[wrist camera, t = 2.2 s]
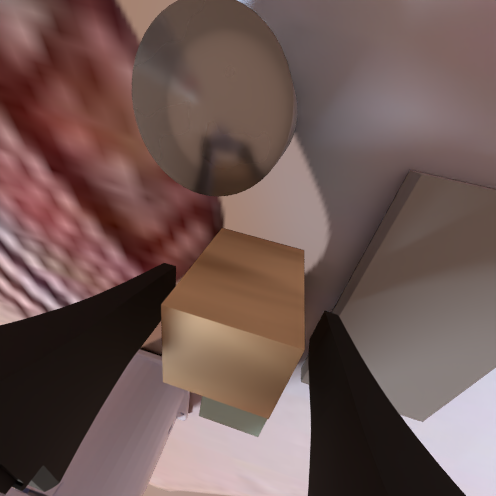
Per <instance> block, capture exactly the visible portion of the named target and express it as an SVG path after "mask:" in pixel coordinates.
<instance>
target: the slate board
mask: <svg viewBox="0 0 496 496" xmlns="http://www.w3.org/2000/svg"><path fill="white" fill-rule="evenodd" d="M332 313H334V314H337V315H339V317H340V319H341V321H342V322H343V324H344V326H345V328H346V330H347V332H348V334H349V335H350V337H351V339H352V341H353V343H354V344H355V346H356V348H357V350H358V352H359V353H360V355H361V357H362V358H363V360H364V362H365V363H366V365H367V367H368V368H369V370H370V372H371V373H372V375H373V376H374V378H375V379H376V381H377V383H378V384H379V386H380V387H381V389H382V390H383V392H384V393H385V395H386V396H387V398H388V399H389V400H390V402H391V403H392V405H393V406H394V407H395V409H396V410H397V412H398V413H399V414H400V415H403V416H406V417H409V418H412V419H415V420H418V421H421V422H423V421H424V420H426V419H427V418H428V417H430V416H431V415H432V414H434V413H435V412H436V411H438V410H439V409H441V408H442V407H443V406H445V405H446V404H447V403H449V402H450V401H451V400H453V399H454V398H455V397H457V396H458V395H459V394H461V393H462V392H463V391H465V390H466V389H467V388H469V387H470V386H471V385H473V384H474V383H475V382H477V381H478V380H480V379H481V378H482V377H484V376H485V375H486V374H488V373H489V372H490V371H492V370H493V369H494V368H496V189H492V188H488V187H483V186H479V185H475V184H470V183H466V182H461V181H457V180H453V179H448V178H444V177H440V176H435V175H431V174H426V173H422V172H418V171H413V170H410V171H409V173H408V175H407V176H406V178H405V180H404V182H403V184H402V186H401V187H400V189H399V191H398V193H397V195H396V196H395V198H394V200H393V202H392V204H391V206H390V207H389V209H388V211H387V213H386V215H385V217H384V218H383V220H382V222H381V224H380V226H379V227H378V229H377V231H376V233H375V235H374V237H373V238H372V240H371V242H370V244H369V246H368V248H367V249H366V251H365V253H364V255H363V257H362V258H361V260H360V262H359V264H358V266H357V268H356V269H355V271H354V273H353V275H352V277H351V279H350V280H349V282H348V284H347V286H346V288H345V289H344V291H343V293H342V295H341V297H340V299H339V300H338V302H337V304H336V306H335V308H334V310H333V311H332ZM308 356H309V355H308ZM301 382H303V383H306V384H309V369H308V357H307V359H306V361H305V362H304V364H303V366H302V368H301Z"/></svg>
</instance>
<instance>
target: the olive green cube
mask: <svg viewBox="0 0 496 496" xmlns="http://www.w3.org/2000/svg"><path fill="white" fill-rule="evenodd" d="M199 416H200V417H203V418H206V419H209V420H212V421H214V422H217V423H220V424H223V425H226V426H228V427H231V428H234V429H237V430H240V431H242V432H245V433H248V434H251V435H254V436H256V437H258V436H259V434H260V432H261V430H262V428H263V426H264V424H265V422H266V421H267V418H264V417H261V416H258V415H255V414H252V413H250V412H247V411H244V410H241V409H238V408H235V407H232V406H230V405H227V404H224V403H221V402H218V401H215V400H212V399H210V398H207V397H204V396H202V400H201V406H200V413H199Z"/></svg>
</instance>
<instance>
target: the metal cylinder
mask: <svg viewBox="0 0 496 496" xmlns="http://www.w3.org/2000/svg"><path fill="white" fill-rule="evenodd" d="M132 100H133V109H134V113H135V118H136V122H137V125H138V128H139V131H140V134H141V136H142V139H143V141H144V143H145V145H146V147H147V149H148V151H149V152H150V154H151V155H152V157H153V158H154V160H155V161H156V163H157V164H158V165H159V166H160V167H161V169H162V170H163V171H164V172H165V173H166V174H167V175H168V176H169V177H171V178H172V179H173V180H174V181H176V182H177V183H179V184H180V185H182V186H183V187H185V188H187V189H189V190H191V191H194V192H197V193H200V194H204V195H209V196H228V195H232V194H237V193H239V192H242V191H245V190H247V189H249V188H251V187H252V186H254V185H255V184H257V183H258V182H259V181H261V180H262V179H263V178H264V177H265V176H266V175H267V174H268V173H269V172H270V171H271V169H272V168H273V167H274V166H275V164H276V163H277V162H278V160H279V159H280V157H281V156H282V155H283V153H284V152H285V151H286V149H287V147H288V146H289V144H290V142H291V140H292V138H293V135H294V132H295V128H296V123H297V114H298V108H297V98H296V93H295V89H294V86H293V82H292V78H291V74H290V71H289V67H288V63H287V60H286V58H285V55H284V53H283V50H282V48H281V46H280V44H279V42H278V40H277V39H276V37H275V35H274V34H273V32H272V31H271V30H270V28H269V27H268V26H267V24H266V23H265V22H264V21H263V20H262V19H261V18H260V17H259V16H258V15H257V14H256V13H255V12H254V11H253V10H251V9H250V8H248V7H247V6H246V5H244V4H243V3H241V2H239V1H237V0H178V1H176V2H174V3H173V4H171V5H169V6H168V7H167V8H166V9H165V10H163V11H162V12H161V13H160V14H159V15H158V16H157V17H156V18H155V20H154V21H153V22H152V23H151V25H150V26H149V28H148V29H147V31H146V32H145V34H144V36H143V38H142V41H141V43H140V45H139V48H138V51H137V54H136V57H135V62H134V67H133V75H132Z"/></svg>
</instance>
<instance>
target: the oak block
mask: <svg viewBox="0 0 496 496" xmlns="http://www.w3.org/2000/svg"><path fill="white" fill-rule="evenodd" d="M161 323H162V368H163V382H164V383H167V384H170V385H172V386H175V387H178V388H181V389H184V390H187V391H190V392H192V393H195V394H198V395H201V396H204V397H207V398H210V399H212V400H215V401H218V402H221V403H224V404H227V405H230V406H232V407H235V408H238V409H241V410H244V411H247V412H250V413H252V414H255V415H258V416H261V417H264V418H267V419H269V417H270V415H271V413H272V412H273V410H274V408H275V406H276V404H277V402H278V400H279V398H280V396H281V394H282V392H283V390H284V389H285V387H286V385H287V383H288V381H289V379H290V377H291V375H292V373H293V371H294V369H295V368H296V366H297V364H298V362H299V360H300V358H301V356H302V354H303V352H304V350H305V321H304V250H301V249H298V248H295V247H291V246H287V245H284V244H280V243H276V242H273V241H269V240H265V239H261V238H258V237H254V236H251V235H247V234H243V233H239V232H236V231H232V230H229V229H225V228H222V229H221V230H220V231H219V232H218V234H217V235H216V236H215V237H214V239H213V240H212V241H211V242H210V244H209V245H208V246H207V248H206V249H205V250H204V251H203V253H202V254H201V255H200V256H199V258H198V259H197V260H196V261H195V263H194V264H193V265H192V266H191V268H190V269H189V270H188V271H187V273H186V274H185V275H184V277H183V278H182V279H181V280H180V282H179V283H178V284H177V285H176V287H175V288H174V289H173V290H172V292H171V293H170V294H169V295H168V297H167V298H166V299H165V300H164V302H163V303H162V304H161Z"/></svg>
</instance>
